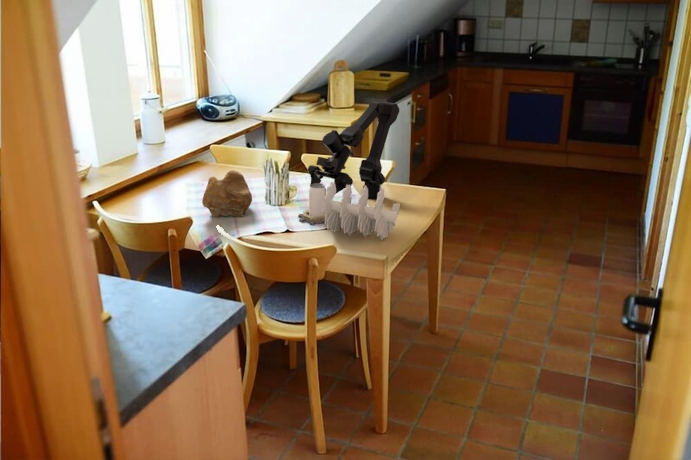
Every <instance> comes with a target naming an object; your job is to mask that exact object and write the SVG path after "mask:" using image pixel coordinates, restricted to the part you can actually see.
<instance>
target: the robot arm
mask: <svg viewBox="0 0 691 460" xmlns="http://www.w3.org/2000/svg"><path fill="white" fill-rule="evenodd" d="M399 113H400V108H399V105H398V103H393V102H387V101H382V102H376V101H375V102H374V101H372V102H370V103H369V104H368V107H367V108H366V110H365V111H364V112H363V113H362V114H361V115H360V116H359V118H357V120H356V121H355V123H353V124H351V125H349V126H347V127H346V128H345V129H343V130H342V131H341V133H339V132H338V130H334V129H332V130H331V132H328V133H326V134H324V136H323V138H322V143H323V145H324V146H325V147H326V148H327V150H328V151H329V152H330V153H332V155H331V156H329V157H327V158H326V157H321V156H318V157H317V161H316V165H313V164H311V165H309V166H308V168H307V169H306V171H307V172H308V174H309V175H310V184H309V186H310V185H311V184H314V183H321V182H322V179H323V178H324V177H325V178H328V179H333V180H334V181H333V183H335V186H336V194H338V193H339V192H341V191H343V190H345V189H346V185H351V186H353V184H354V181H353V179H352V177H351V176H350V174H348V173H347V172H342V170H345V169H346V168H347V167H346V165H345V164H346V162H348V160H349V157H352V158H353V157H354V151H353V150H354V149H351V148H358V146H359V145H360V144H361V142H362V141H363V139H364V133H365V132H366V130H367V129H368V128H369V127H370V125H371V124H372V123H373V122H374V121H375V120H376V119H377V126H376V129H375V131H374V133H375V134H374V135H373V139H372V143H371V146H370V150H369V153H368V156H367V157H366V158H365V159H362V160H360V161H361V162H360V166H359V168H358V169H359V171H358V172H359V178H360V181H361V183H362V182H364V184H363V185H362V189H364V185H366V186H367V188H368V200H369V199H371V200H377V194H378V192H380V188H382V185H383V184H385V182H386V177H385V175H384V174H383V173H382V168H383V167H382V163H381V158H382V156H383V153H384V152H383V151H384V148H385V145H386V142H387V137H388V134H389V131H390V128H391V126H392V125H393V124H394V123H395V122H396V121H397V119H398V116H399ZM350 147H351V148H350ZM319 166H320V167H321V168H320V167H319Z"/></svg>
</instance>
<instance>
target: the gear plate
mask: <svg viewBox="0 0 691 460" xmlns="http://www.w3.org/2000/svg"><path fill="white" fill-rule="evenodd" d="M298 218H299V220H298V222H300V223H307V224H309V225H310V226H311V225H312V226H315V225H320V224H321V225H323V224H324V225H326V224H325V216H322V217H312V216H309V209H306V210H304V211H303V213H299V214H298Z"/></svg>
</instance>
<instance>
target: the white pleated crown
mask: <svg viewBox="0 0 691 460" xmlns="http://www.w3.org/2000/svg"><path fill="white" fill-rule="evenodd" d="M363 186H364V189H363V188H361V189H360V196H359V197H358V204H355V203H352V199H353V197H352V194H353V192H352V185H346V188H344V189H343V190H342V198H341V200H340V201H337V200H333V199H334V197H335V195H336V194H337V193H336V186H335V183H334V181H330V185H328V186H327V188H326V196H325V198H324V200H325V206H324V210H323V212H324V213H325V224H324V225H326V228H327V231H329V230H330V231H331V233H332V234H334V233H335V231H340V228H341V229H342V230H343V234H347V235H348V236H350V237H351V235H352V234H353V233H355V232H357V230H358V229H359V233H362V234H363V237H364V238H366V237H367V236H372V235H371V234H372V233H374V232H376V237H379V238H380V240H381V241H384V239H386V238H388V236H389V235H390V234H391V233H392V231H393V229H394V227H395V226H396V222H397V219H398V216H399V214H400V209H401V208H400V206H401V203H393V204H392V207H391V209H390V210H389V209H384V204H385V203H384V200H385V190H384V189H383V187H381V188H380V192H378V194H377V199H376V201H375V203H374V206H375V207H371V206H368V205H367V204H368V200H369V198H368V188H367V186H366V185H364V184H363Z"/></svg>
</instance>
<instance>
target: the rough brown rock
mask: <svg viewBox="0 0 691 460" xmlns="http://www.w3.org/2000/svg"><path fill="white" fill-rule="evenodd" d="M252 202H253V196H252V193H251V191H250V188H249V185H248V183H247V181H246V180H245V178H244V175H243V174H242V173H241V172H239V171H237V170H228V172H227V173H226V174H225V175H224V178H222V179H219V180H218V178H217V177H215V176H210V177H209V178H208V181H207V185H206V188H205V191H204V192H203V196H202V206H203V207H204V208H207V209H208V211H209V213H210V215H211V216H212V217H214V218H217V217H220V216H223V217H225V216H227V217H228V216H233V217H235V218H242V217H243V216H244V215H245V214H246V212H247V210H248V209H249V208H250V206H251V204H252Z"/></svg>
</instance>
